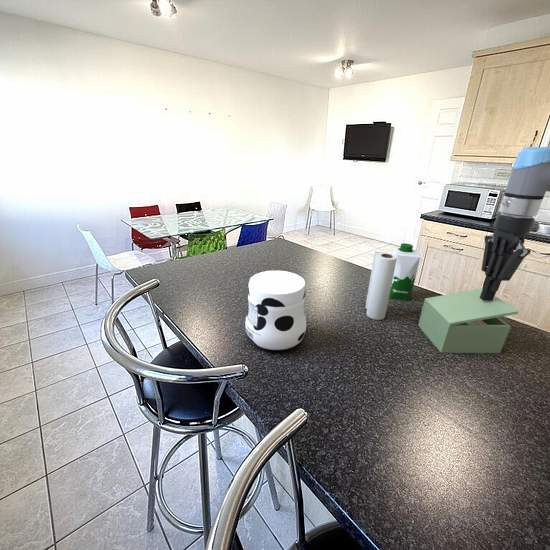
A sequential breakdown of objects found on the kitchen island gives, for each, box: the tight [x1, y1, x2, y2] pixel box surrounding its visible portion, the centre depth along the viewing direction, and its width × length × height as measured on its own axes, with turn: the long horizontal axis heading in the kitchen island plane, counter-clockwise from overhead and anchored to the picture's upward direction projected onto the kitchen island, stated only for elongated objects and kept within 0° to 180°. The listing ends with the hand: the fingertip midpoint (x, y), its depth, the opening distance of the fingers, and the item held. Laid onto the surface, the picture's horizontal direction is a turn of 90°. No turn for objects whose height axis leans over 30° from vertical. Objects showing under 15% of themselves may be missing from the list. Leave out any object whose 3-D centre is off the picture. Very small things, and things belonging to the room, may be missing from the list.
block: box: [461, 320, 487, 325], centre depth 85 cm, size 6×6×6 cm
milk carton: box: [389, 242, 421, 301], centre depth 106 cm, size 9×9×20 cm
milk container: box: [244, 270, 307, 352], centre depth 81 cm, size 17×17×18 cm
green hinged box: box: [417, 300, 512, 354], centre depth 85 cm, size 17×14×9 cm
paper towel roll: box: [364, 250, 397, 321], centre depth 94 cm, size 7×6×21 cm
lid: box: [424, 287, 519, 325], centre depth 82 cm, size 17×14×1 cm
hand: (486, 299), depth 81 cm, fingers closed
